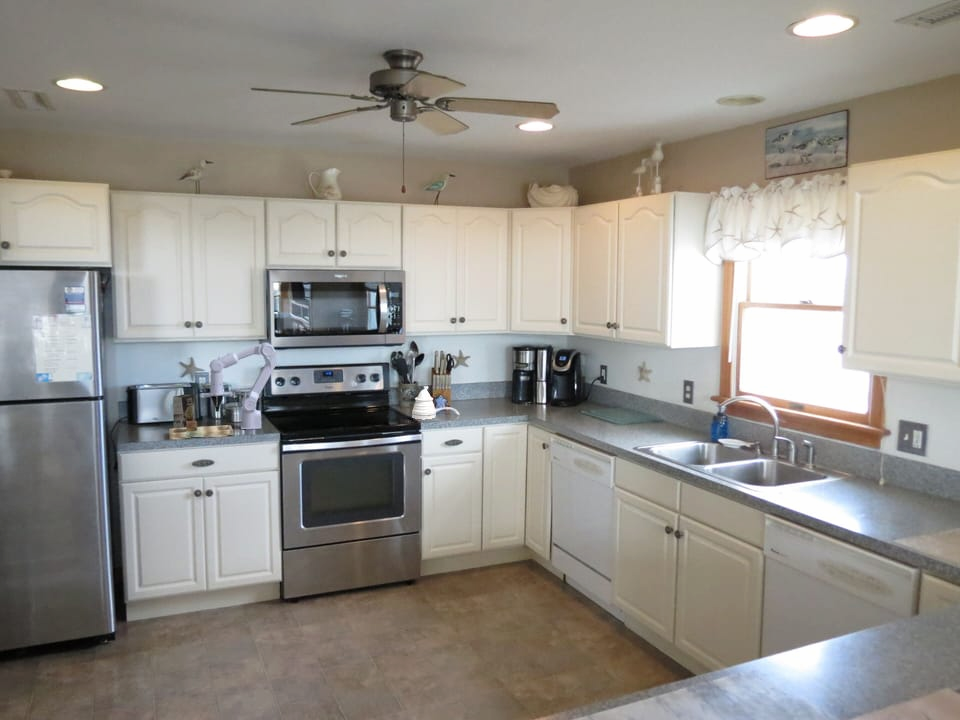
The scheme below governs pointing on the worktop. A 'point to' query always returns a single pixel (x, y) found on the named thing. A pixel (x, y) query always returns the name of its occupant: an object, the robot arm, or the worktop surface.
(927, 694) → the worktop surface
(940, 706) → the worktop surface
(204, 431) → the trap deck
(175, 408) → the coffee box
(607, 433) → the worktop surface
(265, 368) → the robot arm
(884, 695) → the worktop surface
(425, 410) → the honey pot
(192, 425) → the walnut block
